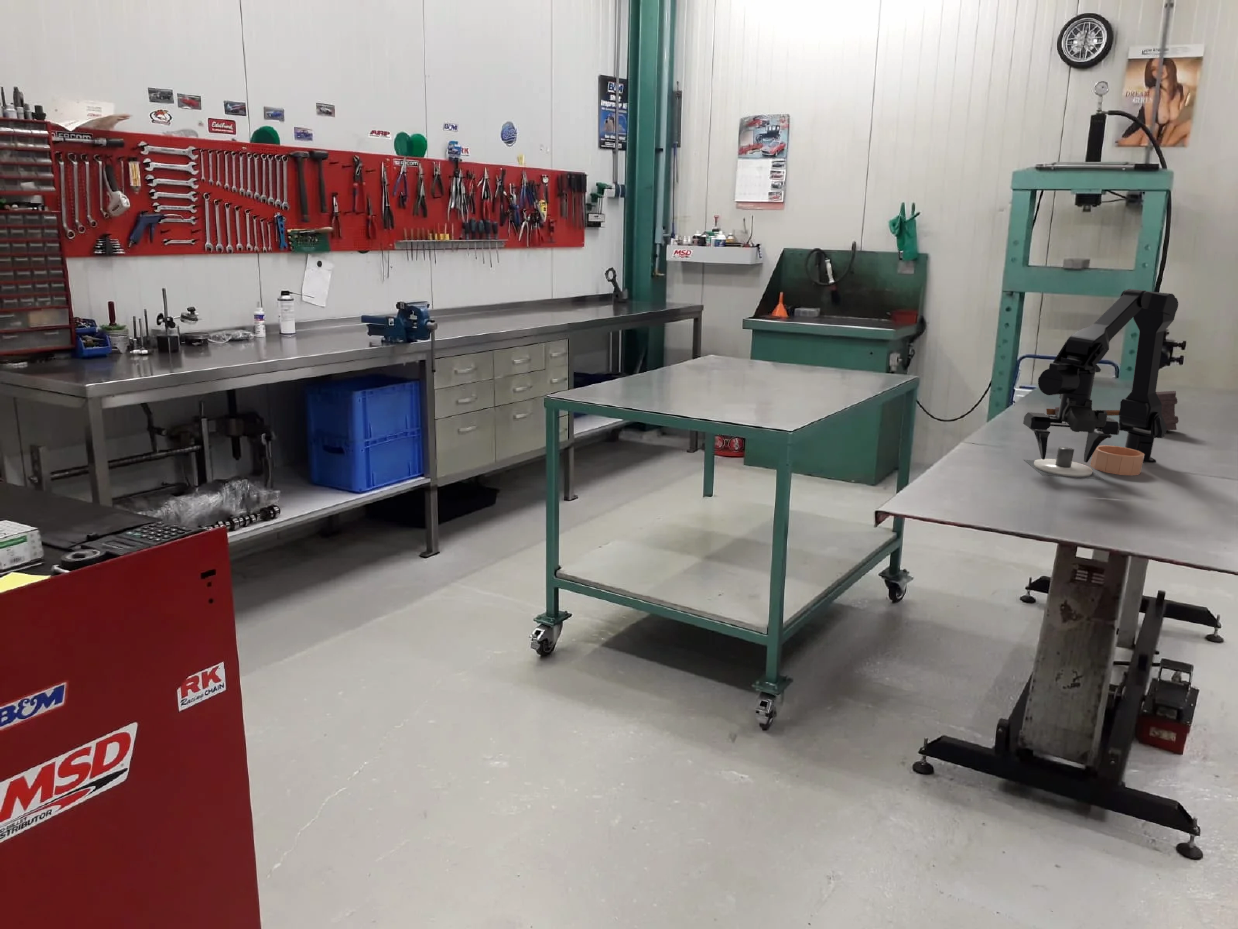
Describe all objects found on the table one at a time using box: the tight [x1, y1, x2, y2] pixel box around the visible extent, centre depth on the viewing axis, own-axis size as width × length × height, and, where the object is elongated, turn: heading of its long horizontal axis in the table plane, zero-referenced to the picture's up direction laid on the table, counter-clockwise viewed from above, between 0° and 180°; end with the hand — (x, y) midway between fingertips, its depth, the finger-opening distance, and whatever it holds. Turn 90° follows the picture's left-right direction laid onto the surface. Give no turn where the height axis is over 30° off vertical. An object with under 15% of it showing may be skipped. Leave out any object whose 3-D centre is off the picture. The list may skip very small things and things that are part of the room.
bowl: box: [1089, 444, 1145, 476], centre depth 206 cm, size 10×10×4 cm
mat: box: [1023, 459, 1105, 481], centre depth 204 cm, size 13×13×1 cm
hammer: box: [1045, 390, 1179, 431], centre depth 256 cm, size 7×33×10 cm, turn 60°
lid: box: [1034, 446, 1094, 478], centre depth 204 cm, size 12×12×5 cm
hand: (1064, 460), depth 204 cm, fingers open, 9 cm apart
